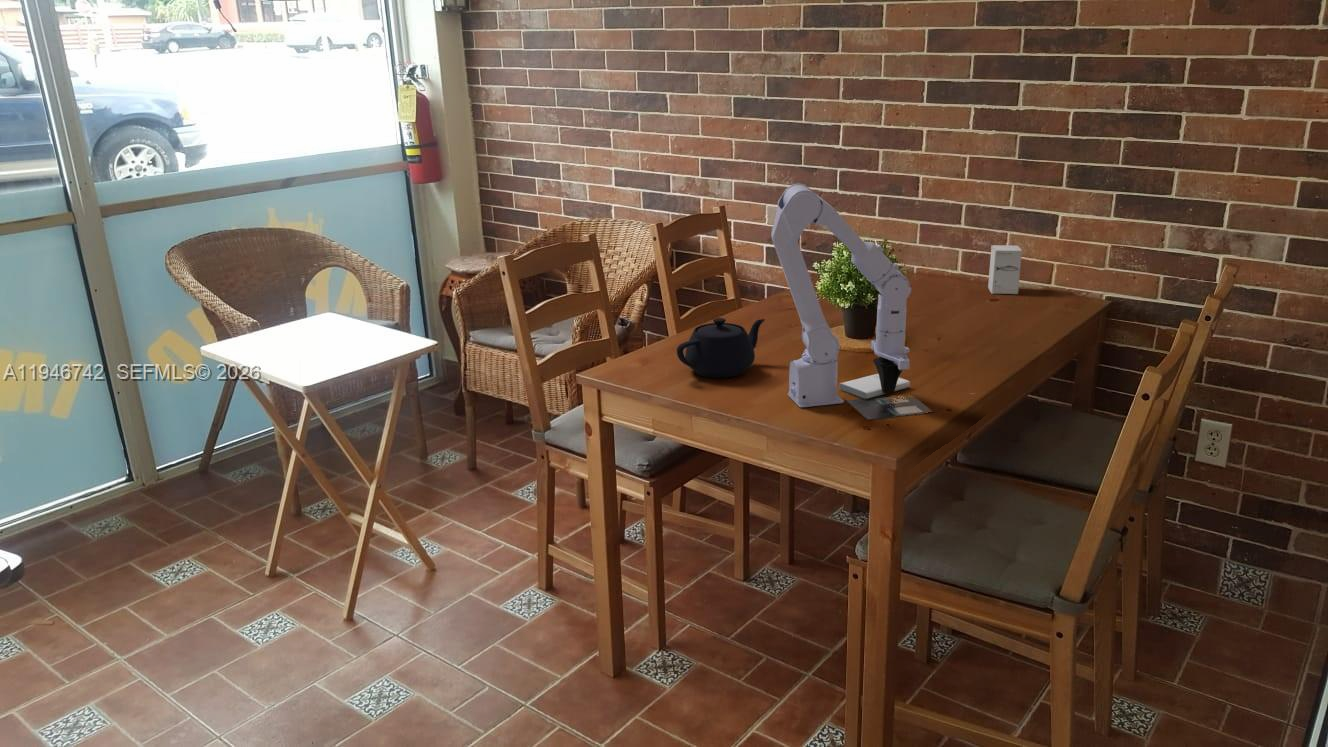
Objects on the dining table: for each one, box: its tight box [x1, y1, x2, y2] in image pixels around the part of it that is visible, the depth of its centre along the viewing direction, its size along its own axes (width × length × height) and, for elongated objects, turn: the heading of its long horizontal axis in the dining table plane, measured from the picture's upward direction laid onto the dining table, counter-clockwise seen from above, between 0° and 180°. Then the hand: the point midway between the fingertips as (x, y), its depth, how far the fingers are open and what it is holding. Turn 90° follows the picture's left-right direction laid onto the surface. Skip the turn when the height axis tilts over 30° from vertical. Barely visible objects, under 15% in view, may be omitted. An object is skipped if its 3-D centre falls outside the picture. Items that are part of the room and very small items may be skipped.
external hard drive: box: [839, 373, 911, 399], centre depth 216 cm, size 2×8×12 cm
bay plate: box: [846, 393, 933, 421], centre depth 206 cm, size 14×11×1 cm
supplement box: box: [987, 244, 1023, 295], centre depth 288 cm, size 7×7×13 cm
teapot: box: [676, 317, 766, 379], centre depth 229 cm, size 25×16×12 cm, turn 126°
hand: (888, 392), depth 211 cm, fingers closed
